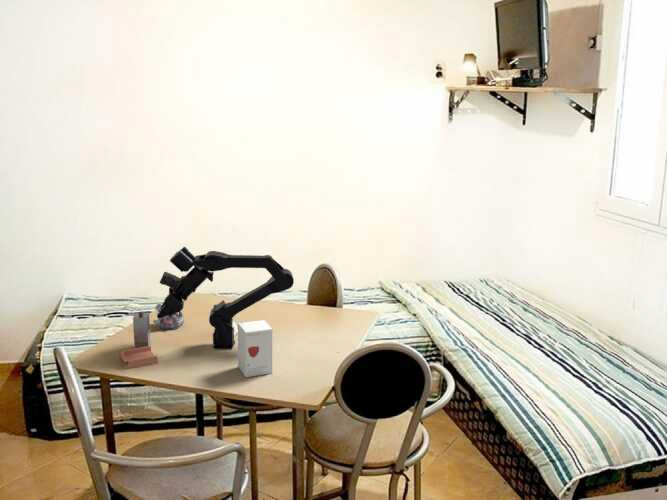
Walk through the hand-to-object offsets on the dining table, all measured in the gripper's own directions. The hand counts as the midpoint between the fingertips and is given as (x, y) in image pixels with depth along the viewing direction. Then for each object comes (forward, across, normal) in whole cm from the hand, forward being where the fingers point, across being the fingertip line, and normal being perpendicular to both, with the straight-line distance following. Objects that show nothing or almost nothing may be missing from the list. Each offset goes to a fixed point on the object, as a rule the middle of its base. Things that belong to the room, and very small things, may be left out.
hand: (159, 312), depth 211 cm
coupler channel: (+13, +10, +5) cm, 17 cm away
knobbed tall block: (+13, 0, +5) cm, 14 cm away
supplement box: (-13, +21, +31) cm, 40 cm away
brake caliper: (+9, -22, +10) cm, 25 cm away
